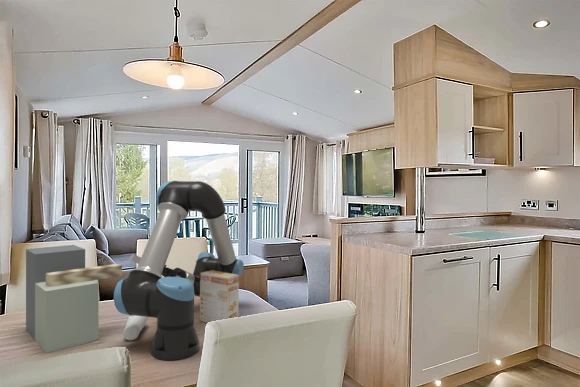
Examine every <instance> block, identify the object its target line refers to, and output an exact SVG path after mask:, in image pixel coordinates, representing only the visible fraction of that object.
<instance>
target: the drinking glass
mask: <svg viewBox="0 0 580 387" xmlns="http://www.w3.org/2000/svg"><path fill="white" fill-rule="evenodd" d="M148 318H149V317H145V316H135V315H134V316H130V315H128V317H127V320H126V323H125V325H124V328H123V331H122V336H123V338H124V339H125V340H128V341H134V340H136V339H137V338H138V337H139V335H140V333H141V332H142V330H143V328H144V327H145V326H146V324H147V321H148Z"/></svg>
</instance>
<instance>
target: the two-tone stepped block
mask: <svg viewBox="0 0 580 387" xmlns="http://www.w3.org/2000/svg"><path fill="white" fill-rule="evenodd" d="M81 268H86V248H83V247H80V246H78V245H75V244H70V245H67V244H66V245H58V246H55V245H54V246H47V247H35V248H26V249H25V330H26V331H27V333H28V334H29V335H30V336H31V337H32V339H33V340H34V341H35V342H36V344H37V345H38V346H39V347H40V348H41V350H42V351H43V352H44V353H45V354H48V353H52V352H56V351H60V350H64V349H68V348H72V347H75V346H79V345H83V344H86V343H87V344H88V343H92V342H96V341H98V340H99V302H100V301H99V296H100V295H99V282H97V280H92V281H86V282H79V283H73V284H66V285H60V286H53V287H48V286H47V285H46V273H51V272H58V271H66V270H74V269H81Z"/></svg>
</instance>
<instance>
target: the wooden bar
mask: <svg viewBox="0 0 580 387" xmlns="http://www.w3.org/2000/svg"><path fill="white" fill-rule="evenodd" d="M122 276H123V265H122V264H120V263H114V264H106V265H99V266H91V267H90V266H89V267H85V268H81V269H74V270H66V271H58V272H51V273H46V285H47V286H48V287H53V286H60V285H66V284H73V283H79V282H86V281H92V280H94V281H98V280H104V279H105V280H106V279H112V278H117V277H122Z"/></svg>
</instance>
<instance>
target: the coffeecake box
mask: <svg viewBox="0 0 580 387" xmlns="http://www.w3.org/2000/svg"><path fill="white" fill-rule="evenodd" d="M239 278H240V276H239V275H237V274H231V273H225V272H219V271H214V270H211V271H206V272H202V273H200V297H199V321H200V322H204V323H206V324H209V323H208V322H211V321H216V320H222V319H228V318H234V317H238V318H239V306H240V305H239V299H240V298H239V296H240V295H239V291H240V289H239V288H240V287H239V286H240V281H239V280H240V279H239Z"/></svg>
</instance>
